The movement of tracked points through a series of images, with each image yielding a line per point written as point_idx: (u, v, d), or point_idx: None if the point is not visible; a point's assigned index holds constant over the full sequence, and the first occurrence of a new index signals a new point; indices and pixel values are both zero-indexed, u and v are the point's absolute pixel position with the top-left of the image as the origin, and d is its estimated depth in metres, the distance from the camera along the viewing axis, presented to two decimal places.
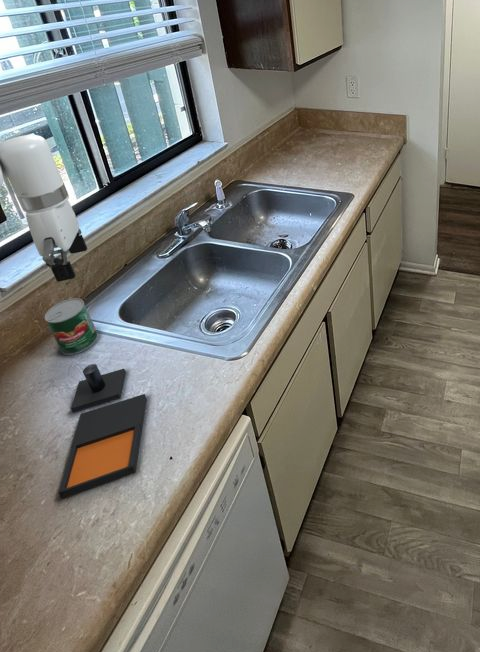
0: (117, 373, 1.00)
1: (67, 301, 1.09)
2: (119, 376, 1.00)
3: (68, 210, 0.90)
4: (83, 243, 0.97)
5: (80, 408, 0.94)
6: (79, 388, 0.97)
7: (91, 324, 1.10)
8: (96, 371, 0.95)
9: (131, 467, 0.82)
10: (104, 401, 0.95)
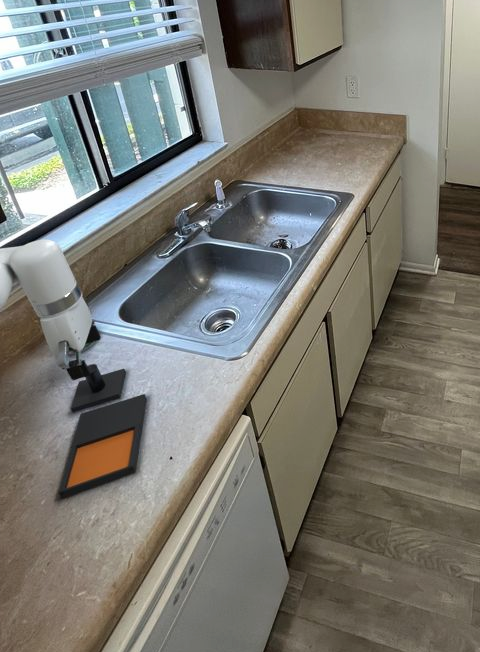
0: (117, 373, 1.00)
1: None
2: (119, 376, 1.00)
3: (81, 307, 0.90)
4: (97, 333, 0.97)
5: (80, 408, 0.94)
6: (79, 388, 0.97)
7: None
8: (96, 371, 0.95)
9: (131, 467, 0.82)
10: (104, 401, 0.95)
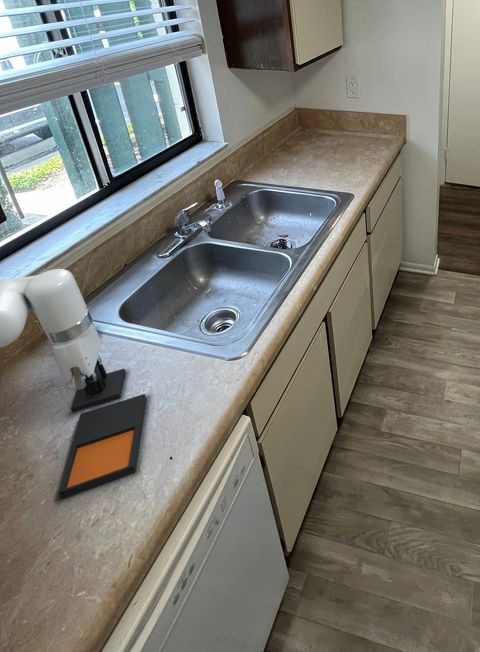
0: (117, 373, 1.00)
1: None
2: (119, 376, 1.00)
3: (92, 333, 0.93)
4: (103, 372, 0.98)
5: (80, 408, 0.94)
6: None
7: None
8: (96, 371, 0.95)
9: (131, 467, 0.82)
10: (104, 401, 0.95)
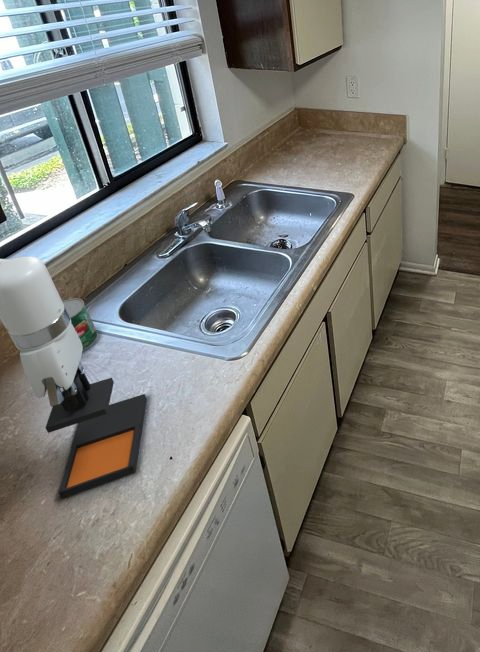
0: (103, 383, 0.84)
1: (67, 301, 1.09)
2: (106, 386, 0.83)
3: (70, 335, 0.76)
4: (86, 382, 0.81)
5: (57, 427, 0.77)
6: None
7: (91, 324, 1.10)
8: (77, 382, 0.78)
9: (131, 467, 0.82)
10: (87, 418, 0.78)
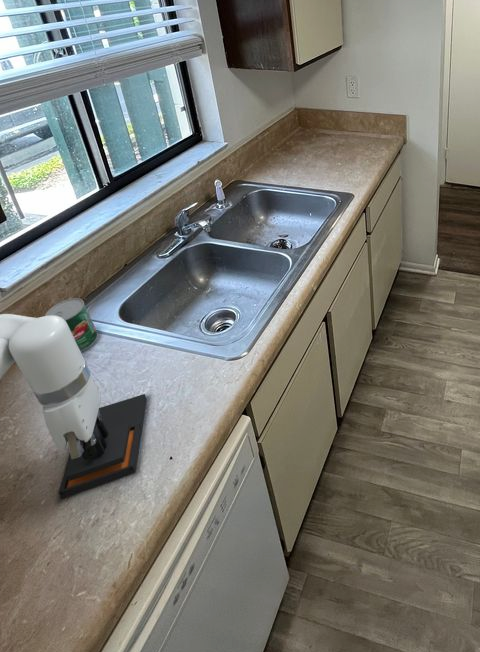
0: (120, 430, 0.86)
1: (67, 301, 1.09)
2: (123, 433, 0.85)
3: (90, 387, 0.79)
4: (104, 430, 0.83)
5: (77, 476, 0.79)
6: None
7: (91, 324, 1.10)
8: (96, 432, 0.80)
9: (131, 467, 0.82)
10: (105, 466, 0.81)
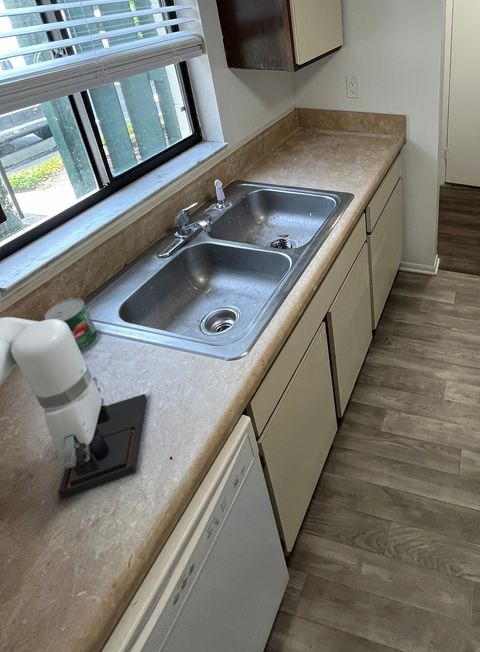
0: (123, 435, 0.87)
1: (67, 301, 1.09)
2: (125, 438, 0.86)
3: (91, 391, 0.79)
4: (106, 414, 0.86)
5: (80, 481, 0.80)
6: None
7: (91, 324, 1.10)
8: (99, 437, 0.81)
9: (131, 467, 0.82)
10: (108, 471, 0.82)
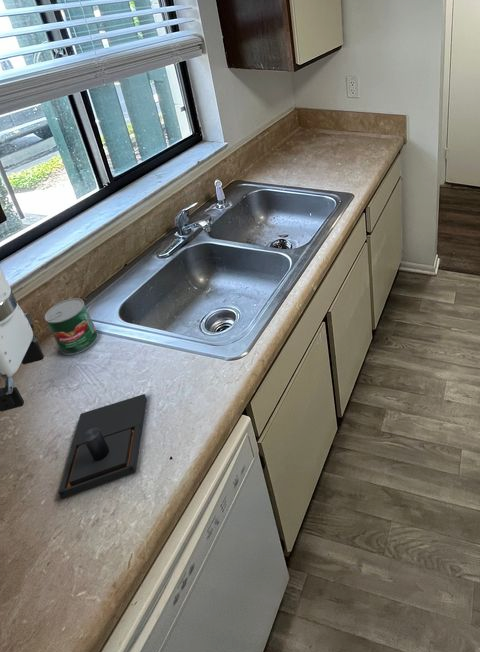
0: (123, 435, 0.87)
1: (67, 301, 1.09)
2: (125, 438, 0.86)
3: (18, 321, 0.74)
4: (38, 352, 0.80)
5: (80, 481, 0.80)
6: (79, 455, 0.83)
7: (91, 324, 1.10)
8: (99, 437, 0.81)
9: (131, 467, 0.82)
10: (108, 471, 0.82)
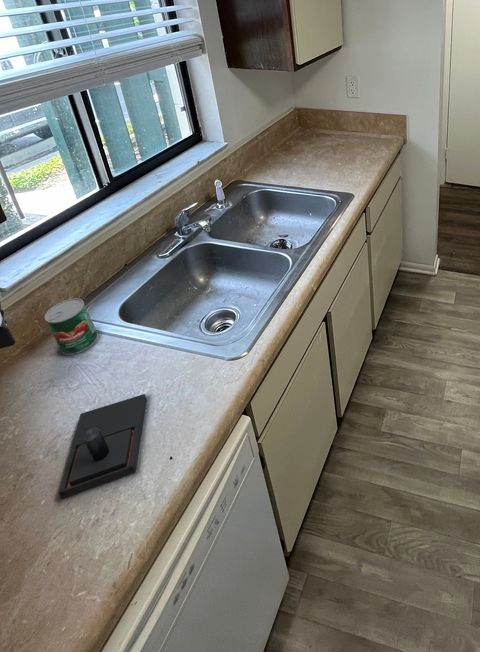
0: (123, 435, 0.87)
1: (67, 301, 1.09)
2: (125, 438, 0.86)
3: None
4: (9, 337, 0.80)
5: (80, 481, 0.80)
6: (79, 455, 0.83)
7: (91, 324, 1.10)
8: (99, 437, 0.81)
9: (131, 467, 0.82)
10: (108, 471, 0.82)
